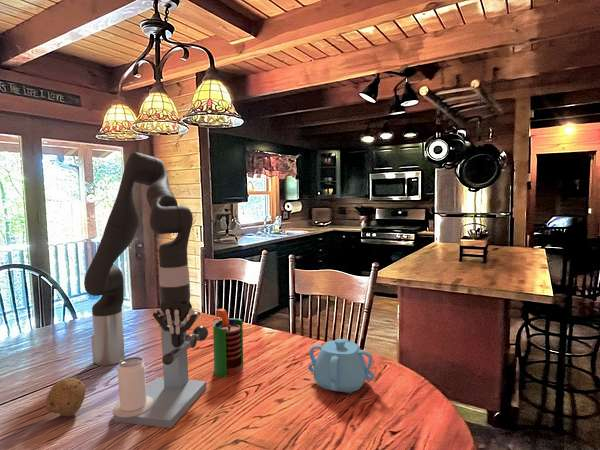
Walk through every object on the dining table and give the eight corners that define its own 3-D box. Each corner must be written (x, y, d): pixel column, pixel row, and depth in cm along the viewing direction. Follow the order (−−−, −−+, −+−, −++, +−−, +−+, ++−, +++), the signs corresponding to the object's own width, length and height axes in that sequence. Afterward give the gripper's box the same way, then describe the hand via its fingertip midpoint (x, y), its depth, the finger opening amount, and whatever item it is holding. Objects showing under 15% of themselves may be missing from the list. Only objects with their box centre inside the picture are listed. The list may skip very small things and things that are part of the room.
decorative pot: (353, 368, 126) (352, 327, 125) (378, 392, 111) (378, 345, 110) (306, 377, 121) (305, 334, 120) (326, 403, 106) (325, 354, 105)
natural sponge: (46, 430, 96) (43, 391, 95) (47, 413, 103) (44, 377, 103) (88, 418, 101) (85, 381, 100) (85, 403, 108) (83, 368, 107)
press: (104, 422, 99) (98, 337, 97) (152, 382, 119) (148, 311, 117) (168, 430, 95) (164, 342, 93) (206, 387, 115) (203, 314, 113)
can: (126, 399, 105) (123, 356, 104) (150, 398, 106) (147, 355, 105) (115, 412, 99) (112, 367, 98) (141, 411, 99) (138, 366, 98)
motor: (235, 378, 121) (233, 315, 119) (209, 376, 123) (206, 314, 121) (246, 364, 131) (244, 306, 129) (221, 362, 132) (219, 305, 131)
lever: (157, 369, 98) (156, 352, 97) (197, 337, 119) (196, 323, 118) (173, 370, 97) (172, 353, 96) (210, 338, 118) (210, 323, 117)
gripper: (204, 279, 104) (207, 342, 105) (159, 278, 107) (163, 339, 108) (191, 286, 96) (194, 353, 98) (143, 285, 99) (147, 350, 101)
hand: (177, 346), depth 103 cm, fingers closed
